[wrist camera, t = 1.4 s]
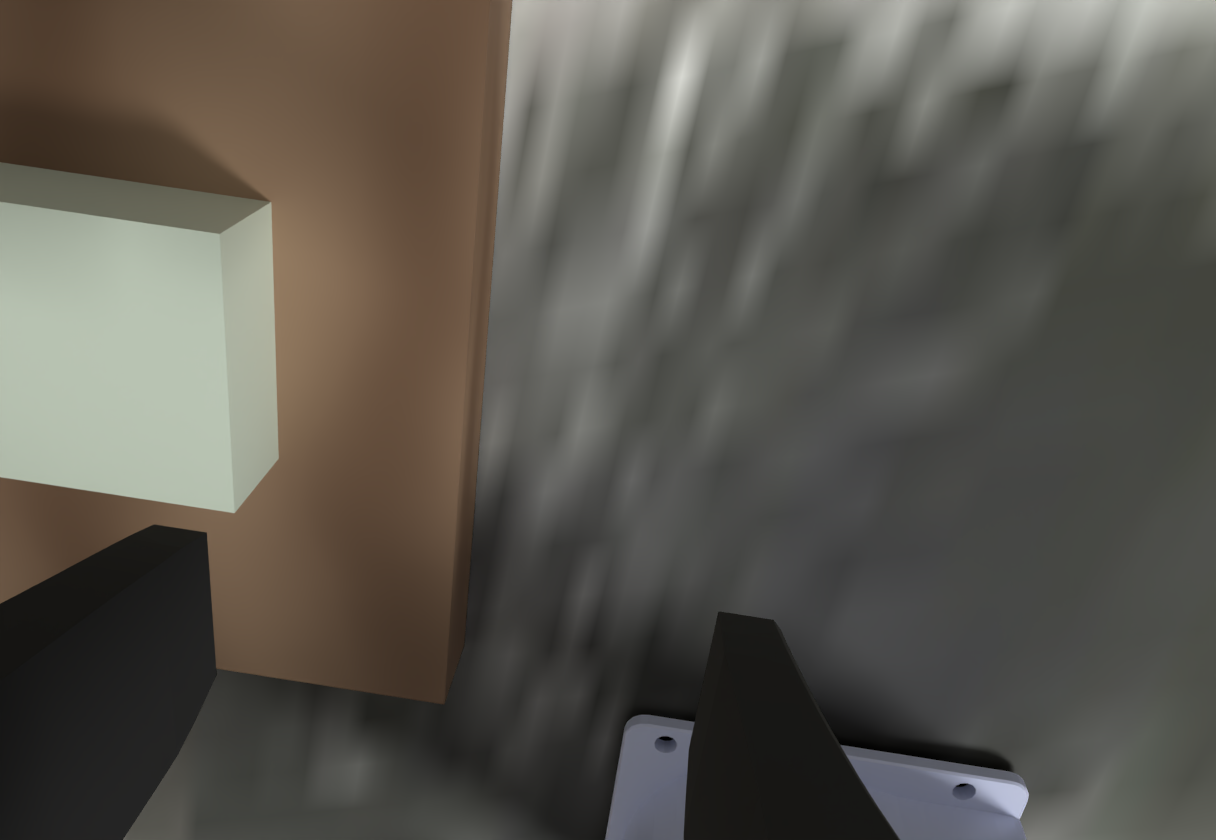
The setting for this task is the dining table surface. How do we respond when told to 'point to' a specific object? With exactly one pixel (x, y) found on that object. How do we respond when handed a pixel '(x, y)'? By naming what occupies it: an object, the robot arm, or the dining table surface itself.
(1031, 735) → the dining table surface
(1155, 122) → the dining table surface
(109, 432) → the tile sage
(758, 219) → the dining table surface
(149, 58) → the walnut board
